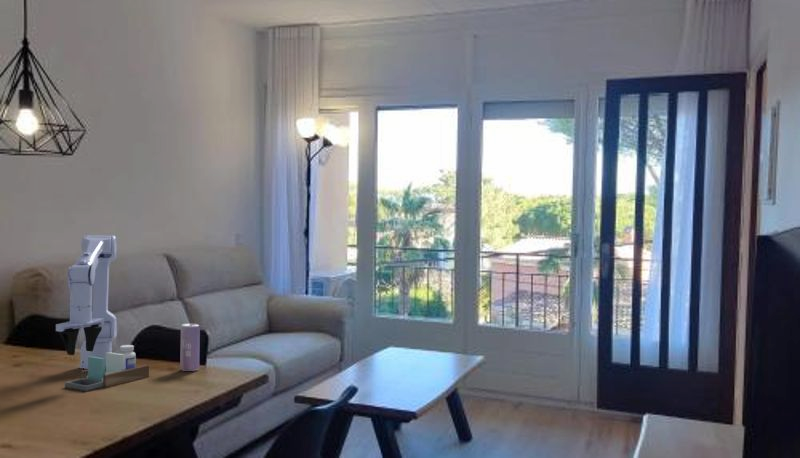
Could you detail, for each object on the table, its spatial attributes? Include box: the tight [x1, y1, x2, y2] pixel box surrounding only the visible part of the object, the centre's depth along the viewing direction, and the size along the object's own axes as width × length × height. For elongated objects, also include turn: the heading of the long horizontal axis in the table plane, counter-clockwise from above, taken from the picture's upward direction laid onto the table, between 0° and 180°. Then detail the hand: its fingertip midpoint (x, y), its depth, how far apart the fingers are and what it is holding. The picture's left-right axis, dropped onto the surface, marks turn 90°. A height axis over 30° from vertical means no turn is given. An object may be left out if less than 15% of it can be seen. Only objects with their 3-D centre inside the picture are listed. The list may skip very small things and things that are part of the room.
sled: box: [86, 352, 126, 382], centre depth 200 cm, size 7×8×8 cm
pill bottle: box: [118, 344, 137, 370], centre depth 207 cm, size 5×5×10 cm
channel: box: [80, 364, 150, 388], centre depth 203 cm, size 11×16×4 cm
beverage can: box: [179, 323, 201, 372], centre depth 218 cm, size 6×6×15 cm
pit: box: [64, 378, 105, 393], centre depth 194 cm, size 9×6×2 cm, turn 63°
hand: (80, 352), depth 192 cm, fingers open, 6 cm apart
